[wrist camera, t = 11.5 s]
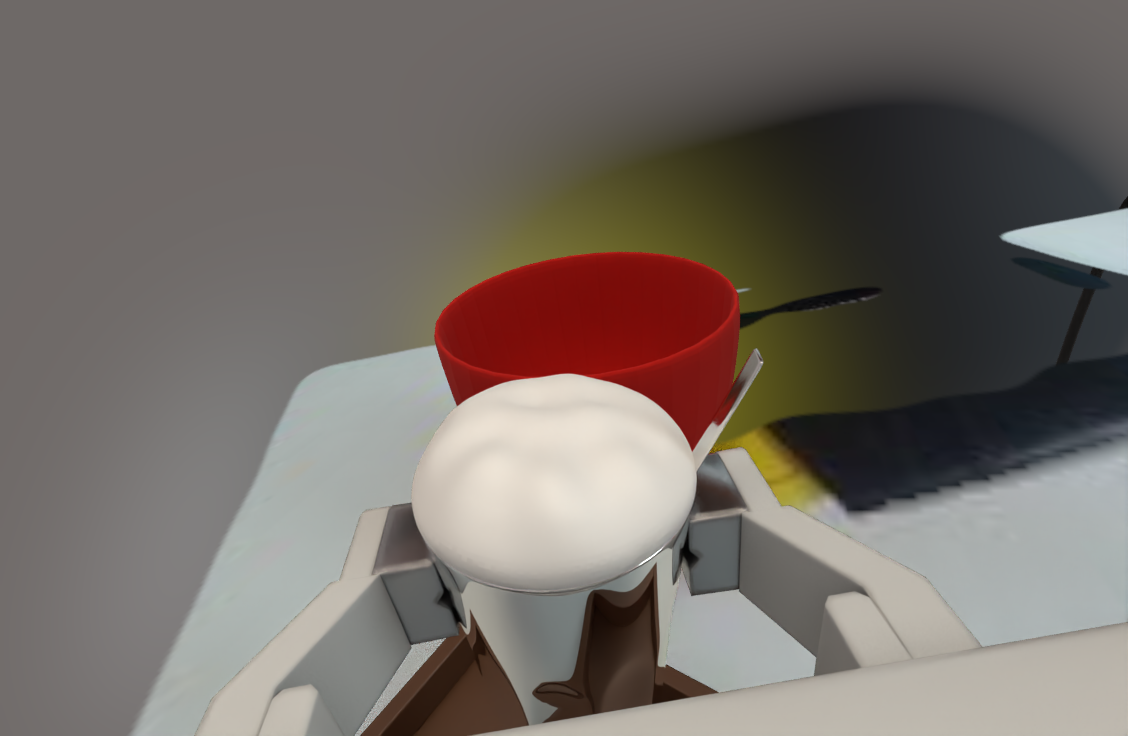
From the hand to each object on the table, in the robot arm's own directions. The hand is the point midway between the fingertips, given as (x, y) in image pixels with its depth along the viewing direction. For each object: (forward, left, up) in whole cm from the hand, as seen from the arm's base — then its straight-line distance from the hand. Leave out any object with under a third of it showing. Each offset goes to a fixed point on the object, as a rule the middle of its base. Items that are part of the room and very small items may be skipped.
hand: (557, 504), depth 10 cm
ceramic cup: (-13, -9, -12) cm, 20 cm away
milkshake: (+1, +1, -7) cm, 7 cm away
